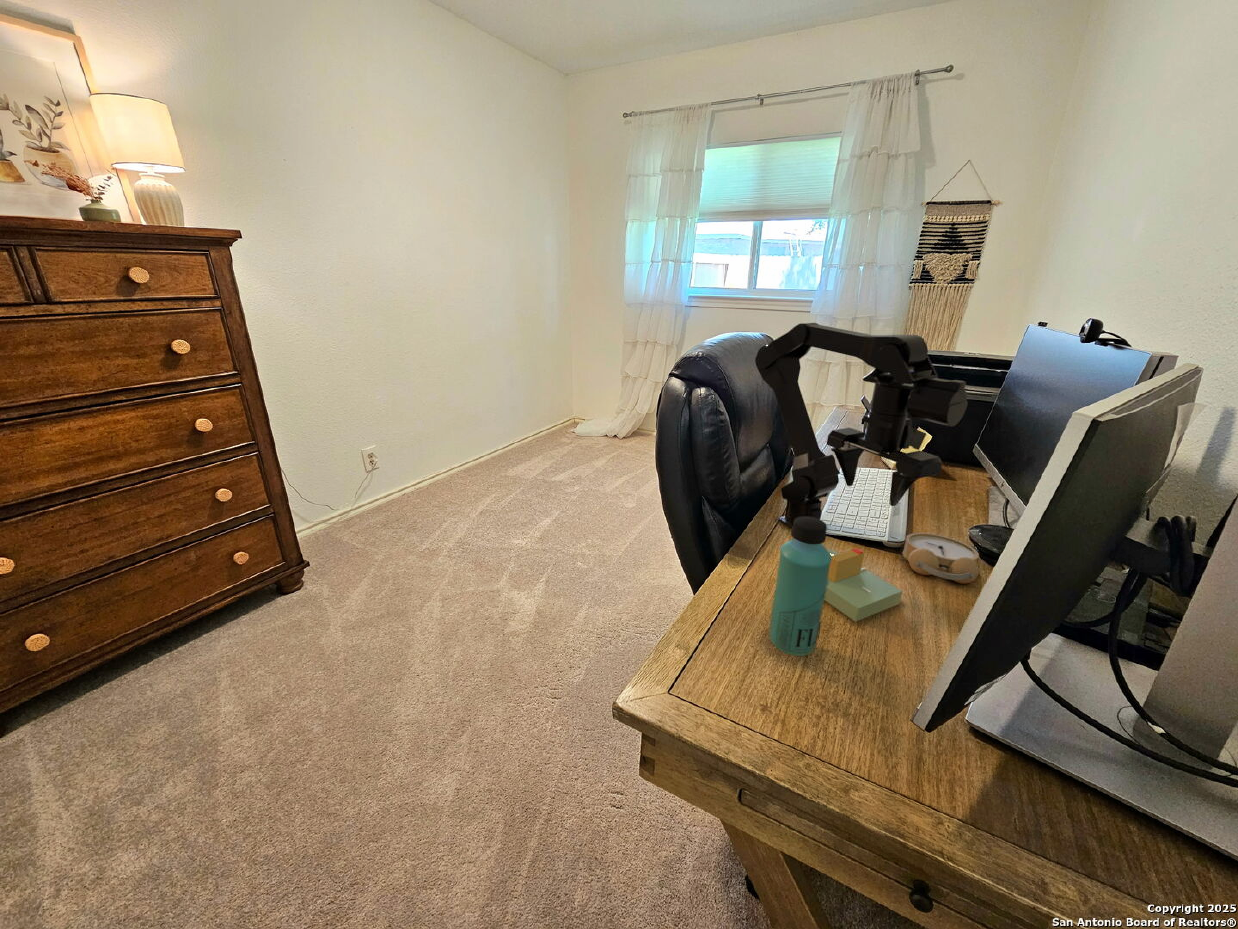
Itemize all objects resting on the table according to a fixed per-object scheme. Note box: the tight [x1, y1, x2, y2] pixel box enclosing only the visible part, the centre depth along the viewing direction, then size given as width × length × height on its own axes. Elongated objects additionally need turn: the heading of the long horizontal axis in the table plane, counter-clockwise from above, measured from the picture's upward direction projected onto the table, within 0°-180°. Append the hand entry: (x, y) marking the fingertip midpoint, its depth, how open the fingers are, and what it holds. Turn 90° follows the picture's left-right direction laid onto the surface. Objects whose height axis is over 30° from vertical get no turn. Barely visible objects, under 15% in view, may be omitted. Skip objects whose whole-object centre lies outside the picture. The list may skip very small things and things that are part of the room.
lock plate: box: [824, 549, 903, 623], centre depth 80 cm, size 14×10×3 cm
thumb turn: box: [828, 547, 865, 582], centre depth 79 cm, size 6×2×4 cm, turn 115°
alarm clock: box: [902, 532, 980, 585], centre depth 86 cm, size 11×5×15 cm
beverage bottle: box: [768, 516, 831, 657], centre depth 64 cm, size 6×7×20 cm
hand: (870, 495), depth 87 cm, fingers open, 9 cm apart
